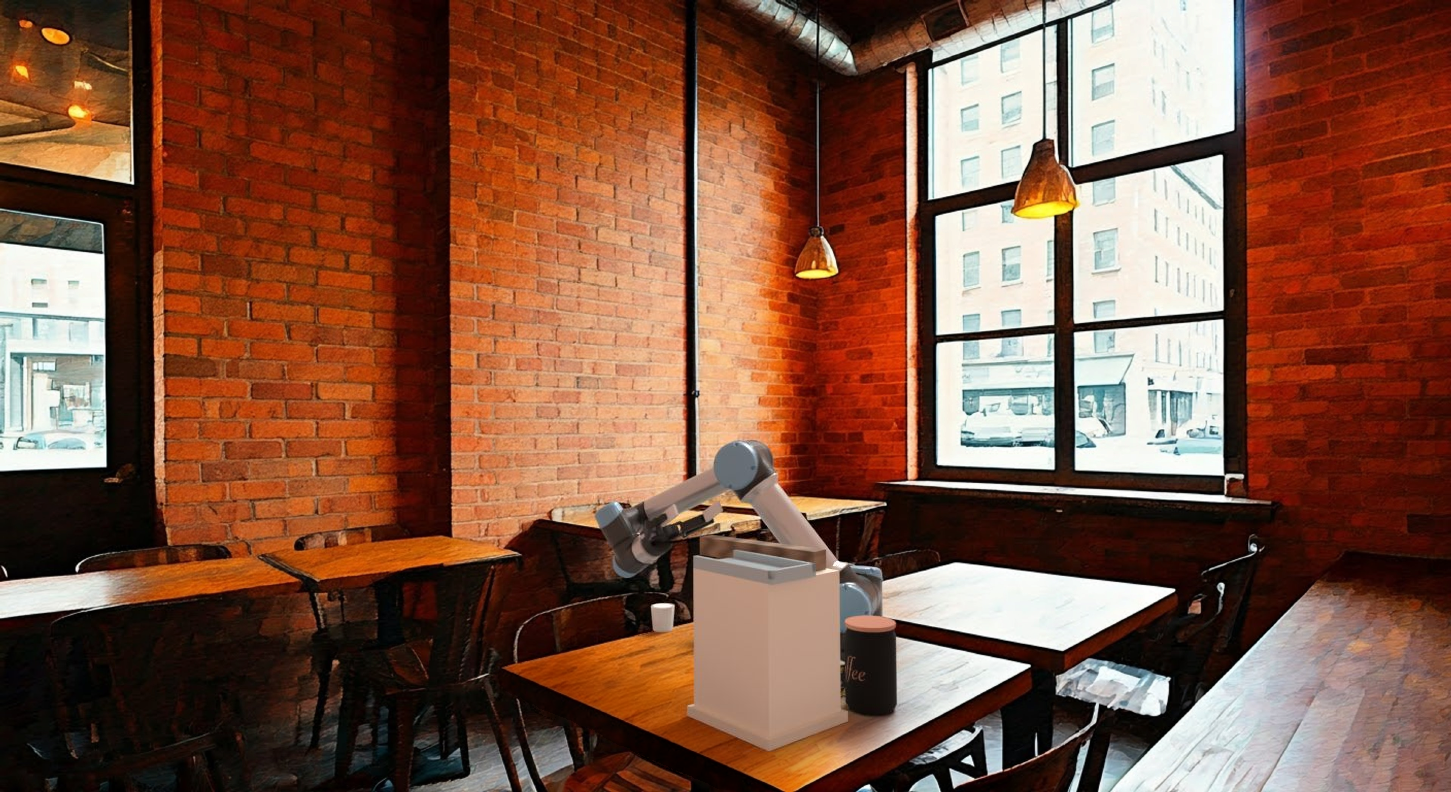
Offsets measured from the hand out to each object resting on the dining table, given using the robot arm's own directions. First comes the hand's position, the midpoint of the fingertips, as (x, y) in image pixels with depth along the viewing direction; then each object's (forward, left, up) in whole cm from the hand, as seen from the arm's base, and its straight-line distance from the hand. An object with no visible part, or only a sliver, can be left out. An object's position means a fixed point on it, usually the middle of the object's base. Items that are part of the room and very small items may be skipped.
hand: (698, 507), depth 192 cm
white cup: (+18, -40, -40) cm, 59 cm away
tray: (-16, +28, -10) cm, 34 cm away
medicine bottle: (-30, +8, -40) cm, 50 cm away
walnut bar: (-16, +16, -10) cm, 25 cm away
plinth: (-19, +25, -40) cm, 50 cm away
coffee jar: (-40, +16, -40) cm, 58 cm away
